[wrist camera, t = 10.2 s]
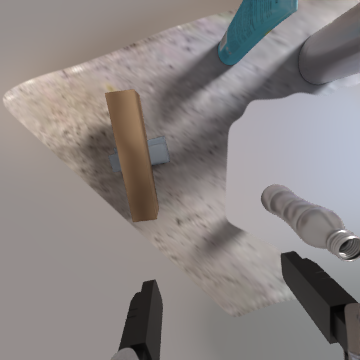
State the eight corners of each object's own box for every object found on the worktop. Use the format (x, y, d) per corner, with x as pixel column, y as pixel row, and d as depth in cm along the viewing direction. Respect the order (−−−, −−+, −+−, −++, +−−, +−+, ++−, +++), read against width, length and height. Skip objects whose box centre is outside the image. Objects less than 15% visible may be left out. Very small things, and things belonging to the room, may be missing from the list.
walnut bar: (139, 95, 30) (133, 89, 25) (158, 208, 35) (156, 219, 31) (114, 98, 30) (104, 93, 25) (138, 210, 35) (132, 222, 31)
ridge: (164, 136, 38) (162, 137, 32) (169, 159, 40) (169, 165, 33) (118, 146, 39) (106, 150, 32) (125, 169, 40) (115, 177, 33)
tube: (246, 68, 36) (324, 2, 17) (221, 75, 36) (272, 17, 17) (239, 23, 34) (320, -106, 15) (213, 31, 34) (261, -88, 15)
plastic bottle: (268, 213, 44) (341, 279, 25) (252, 193, 42) (316, 247, 23) (290, 197, 43) (385, 252, 24) (275, 175, 41) (363, 216, 22)
